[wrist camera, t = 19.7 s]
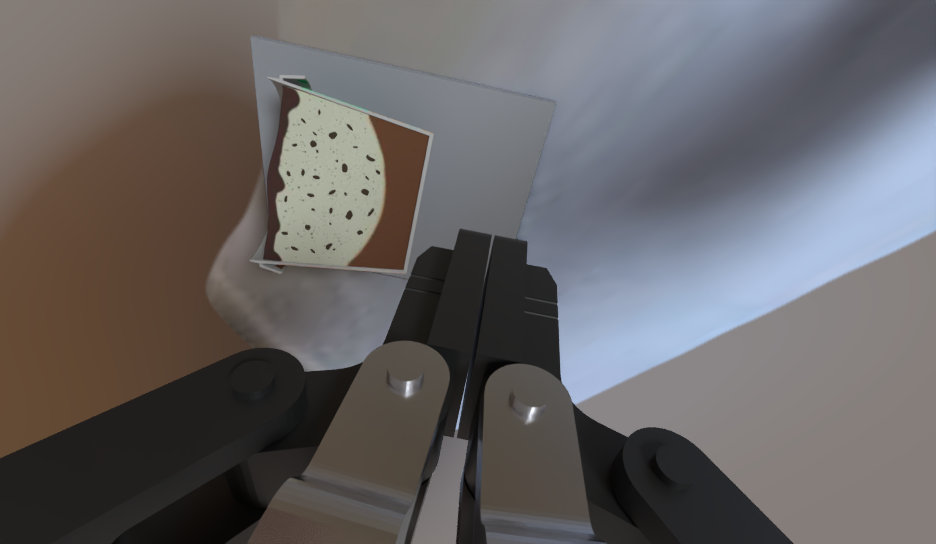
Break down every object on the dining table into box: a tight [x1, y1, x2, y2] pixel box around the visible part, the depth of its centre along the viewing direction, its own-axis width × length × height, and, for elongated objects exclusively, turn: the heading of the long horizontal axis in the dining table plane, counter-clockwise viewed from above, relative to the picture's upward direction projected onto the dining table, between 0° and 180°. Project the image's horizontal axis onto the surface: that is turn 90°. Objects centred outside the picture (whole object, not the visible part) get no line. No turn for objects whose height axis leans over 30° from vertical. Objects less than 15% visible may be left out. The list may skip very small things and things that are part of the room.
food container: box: [249, 75, 434, 274], centre depth 32 cm, size 12×6×10 cm
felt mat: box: [250, 35, 556, 286], centre depth 35 cm, size 20×17×1 cm
